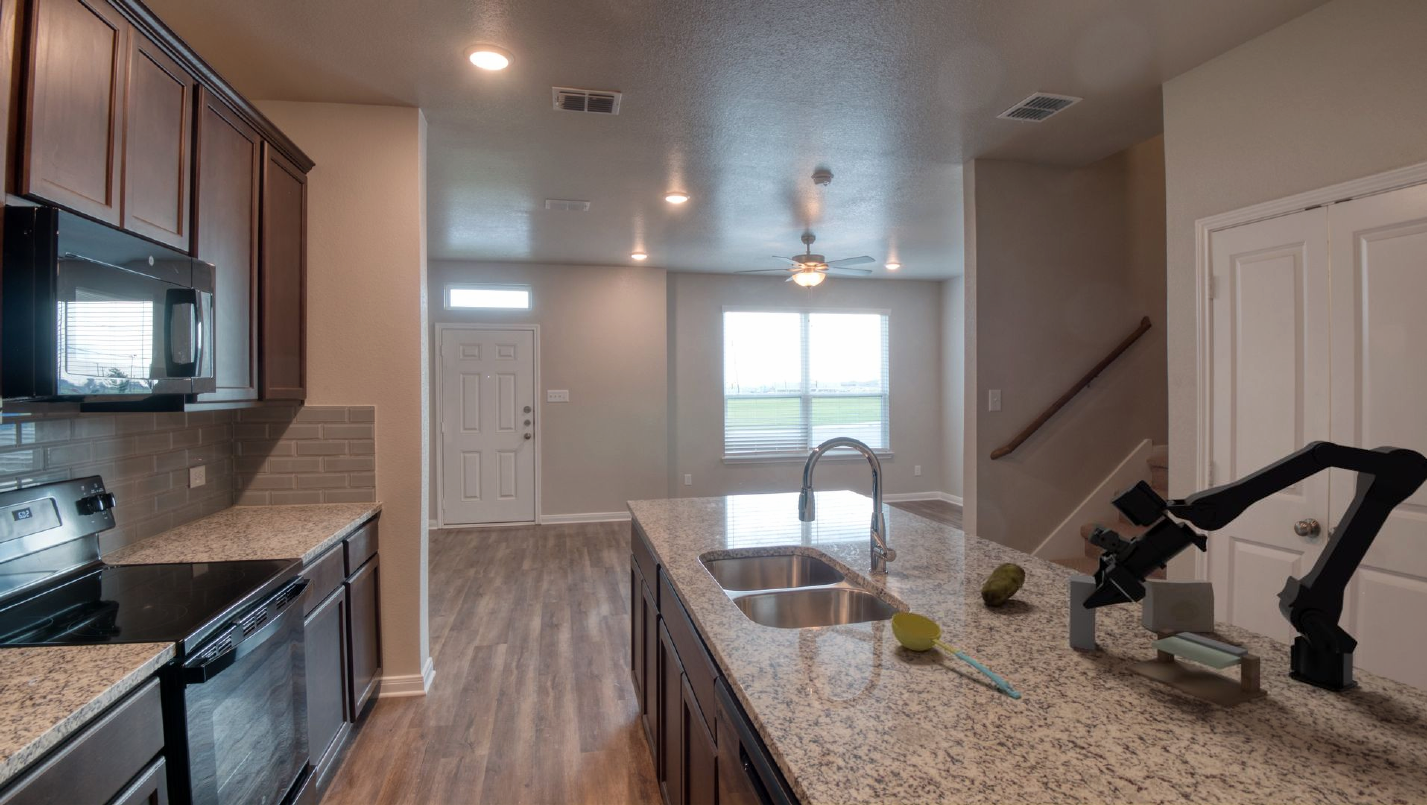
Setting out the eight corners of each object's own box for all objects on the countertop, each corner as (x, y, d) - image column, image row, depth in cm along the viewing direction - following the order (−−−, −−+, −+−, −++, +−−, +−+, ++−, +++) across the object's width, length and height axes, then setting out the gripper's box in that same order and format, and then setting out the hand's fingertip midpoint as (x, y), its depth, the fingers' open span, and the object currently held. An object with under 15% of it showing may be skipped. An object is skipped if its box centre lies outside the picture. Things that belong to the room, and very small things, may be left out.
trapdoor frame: (1267, 693, 101) (1267, 657, 101) (1226, 707, 96) (1227, 670, 96) (1164, 657, 114) (1165, 626, 114) (1124, 668, 110) (1125, 636, 110)
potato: (965, 599, 147) (965, 563, 147) (1008, 593, 152) (1008, 558, 152) (993, 610, 139) (994, 573, 139) (1038, 603, 144) (1038, 567, 144)
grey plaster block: (1201, 626, 130) (1202, 578, 130) (1215, 632, 127) (1215, 583, 126) (1140, 625, 130) (1140, 577, 130) (1151, 632, 127) (1152, 582, 127)
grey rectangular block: (1093, 641, 122) (1094, 576, 122) (1095, 650, 118) (1095, 583, 117) (1069, 637, 124) (1069, 574, 124) (1069, 646, 120) (1070, 580, 119)
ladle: (913, 631, 125) (919, 603, 124) (1030, 723, 102) (1038, 690, 101) (877, 636, 122) (883, 608, 120) (989, 733, 98) (998, 699, 97)
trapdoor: (1251, 662, 103) (1251, 651, 103) (1219, 673, 100) (1219, 661, 100) (1183, 641, 112) (1183, 630, 112) (1151, 649, 109) (1151, 639, 109)
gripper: (1114, 503, 126) (1049, 554, 131) (1123, 520, 110) (1048, 577, 115) (1163, 549, 123) (1094, 599, 128) (1180, 573, 106) (1099, 629, 111)
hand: (1083, 599), depth 121 cm, fingers open, 9 cm apart
